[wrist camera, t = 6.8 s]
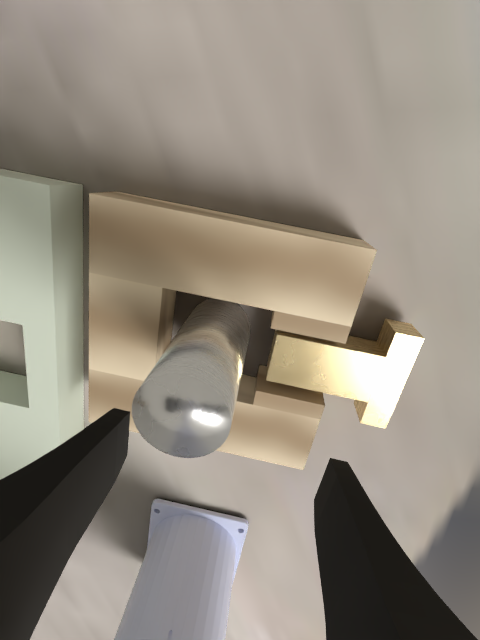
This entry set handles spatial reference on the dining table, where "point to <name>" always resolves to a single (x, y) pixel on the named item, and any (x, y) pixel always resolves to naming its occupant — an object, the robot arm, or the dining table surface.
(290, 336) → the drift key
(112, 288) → the socket block
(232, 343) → the steel peg
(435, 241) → the dining table surface
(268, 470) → the dining table surface
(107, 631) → the dining table surface
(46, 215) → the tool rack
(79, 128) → the dining table surface
